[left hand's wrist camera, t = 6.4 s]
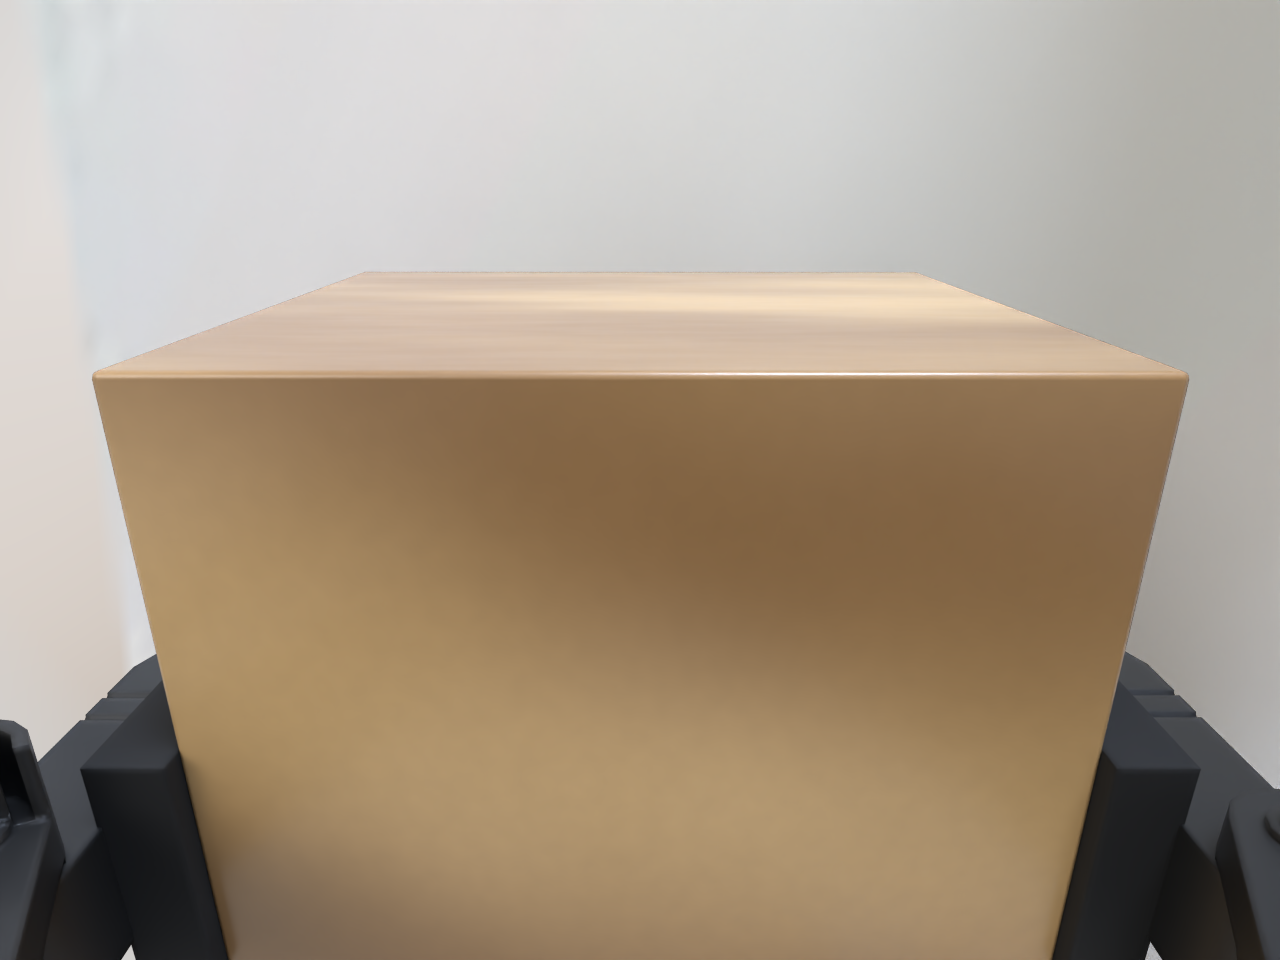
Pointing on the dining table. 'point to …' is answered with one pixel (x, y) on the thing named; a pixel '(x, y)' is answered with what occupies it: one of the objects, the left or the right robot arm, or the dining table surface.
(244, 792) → the brown striped wooden beam
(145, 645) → the dining table surface
